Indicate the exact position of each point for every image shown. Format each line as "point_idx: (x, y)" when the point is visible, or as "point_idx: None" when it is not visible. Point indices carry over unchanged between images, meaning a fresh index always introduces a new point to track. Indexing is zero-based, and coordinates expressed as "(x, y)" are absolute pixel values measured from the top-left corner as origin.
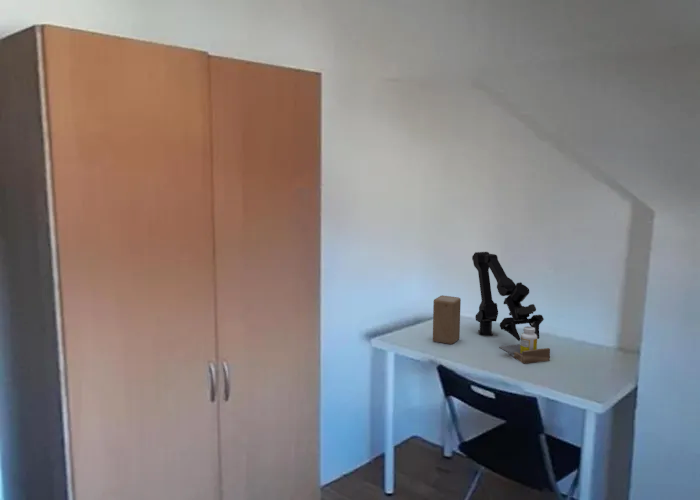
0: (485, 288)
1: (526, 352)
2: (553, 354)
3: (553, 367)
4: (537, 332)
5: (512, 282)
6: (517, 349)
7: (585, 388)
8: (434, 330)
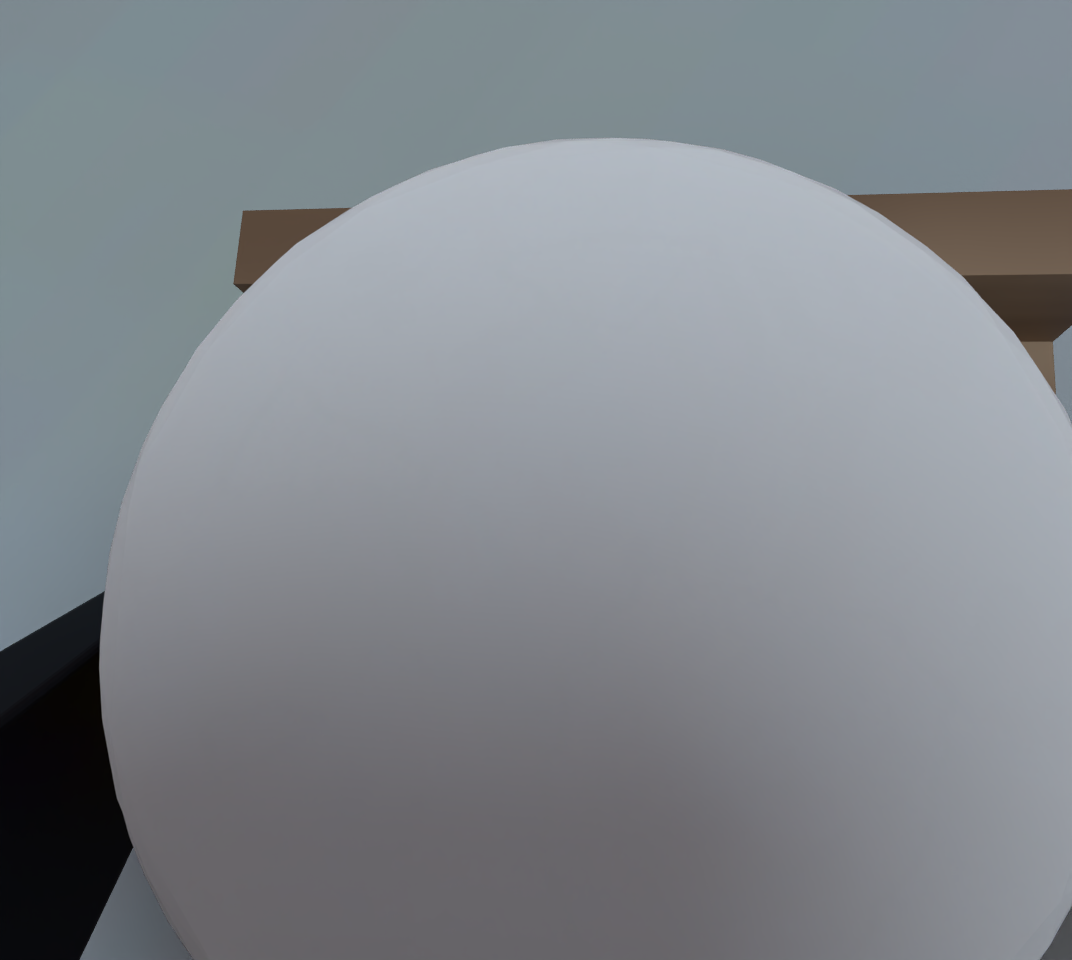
0: None
1: (1031, 202)
2: (44, 597)
3: (542, 7)
4: (20, 694)
5: None
6: None
7: None
8: None
